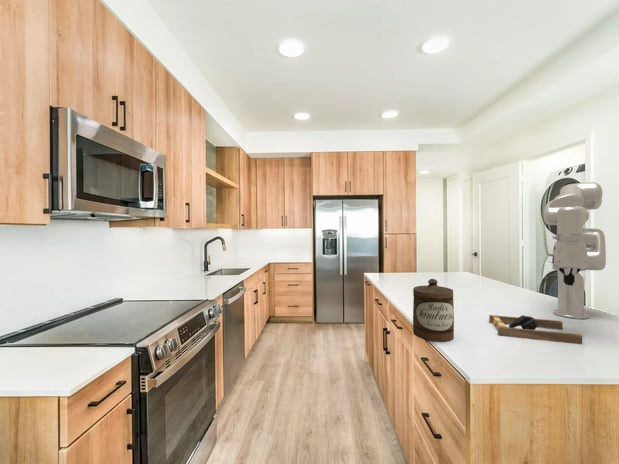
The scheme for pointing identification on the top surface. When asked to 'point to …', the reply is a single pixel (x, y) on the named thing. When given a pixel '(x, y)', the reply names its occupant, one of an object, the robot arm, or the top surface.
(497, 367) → the top surface
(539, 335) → the brown wooden u-shaped frame
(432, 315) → the wooden container
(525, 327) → the power plug
